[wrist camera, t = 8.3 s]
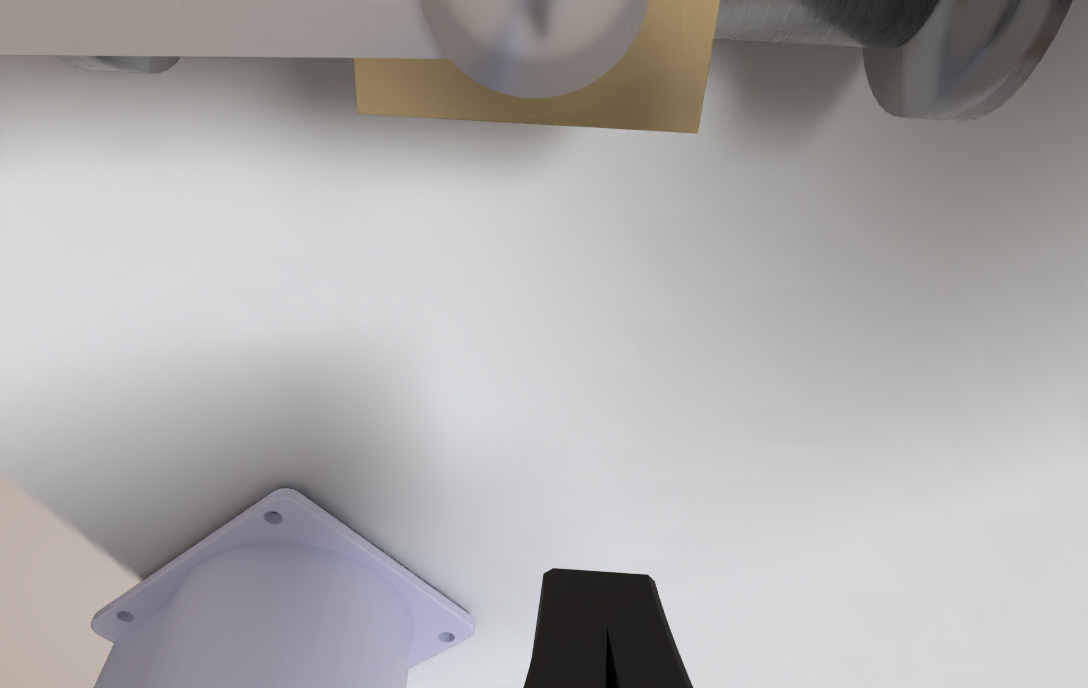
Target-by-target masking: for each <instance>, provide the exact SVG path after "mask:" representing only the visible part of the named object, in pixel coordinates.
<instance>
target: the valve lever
mask: <svg viewBox="0 0 1088 688" xmlns="http://www.w3.org/2000/svg"><path fill="white" fill-rule="evenodd" d="M648 2H649V0H0V55H78V56H188V57H298V58H407V59H449V60H450V61H451V62H452V63H453V64H454V65H455V66H456V67H457V68H458V69H460V70H461V71H462V72H463V73H464V74H465V75H467V76H468V77H470V78H471V79H473V80H474V81H476V82H477V83H479V84H481V85H483V86H485V87H487V88H489V89H491V90H494V91H497V92H500V93H503V94H506V95H511V96H516V97H522V98H549V97H554V96H560V95H564V94H567V93H570V92H573V91H576V90H578V89H581V88H583V87H585V86H587V85H589V84H591V83H592V82H594V81H595V80H597V79H599V78H600V77H602V76H603V75H604V74H605V73H606V72H608V71H609V70H610V69H611V68H612V67H613V66H614V65H615V64H616V63H617V62H618V61H619V60H620V59H621V58H622V57H623V56H624V54H625V53H626V51H627V50H628V49H629V47H630V46H631V45H632V43H633V41H634V39H635V37H636V36H637V34H638V32H639V30H640V27H641V25H642V22H643V20H644V17H645V13H646V10H647V6H648Z"/></svg>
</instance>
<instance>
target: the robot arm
mask: <svg viewBox="0 0 1088 688" xmlns="http://www.w3.org/2000/svg"><path fill="white" fill-rule="evenodd" d="M271 511H273V512H277V513H279V514H275V513H273V512H271ZM91 628H92V629H93V630H94V632H96V633H97V634H98V635H100V636H102V637H104V638H105V639H107V640H109V641H111V642H113V643H114V645H113V647H112V649H111V651H110V654H109V656H108V658H107V660H106V662H105V665H104V667H103V669H102V671H101V673H100V675H99V678H98V680H97V682H96V684H95V686H94V688H406V682H407V676H408V669H409V668H411V667H413V666H415V665H417V664H419V663H421V662H423V661H425V660H427V659H429V658H430V657H432V656H434V655H436V654H438V653H440V652H442V651H444V650H446V649H448V648H450V647H452V646H454V645H455V644H457V643H459V642H461V641H463V640H465V639H467V638H469V637H470V636H472V635H473V633H474V629H475V621H474V618H473V617H472V616H471V615H470V614H468V613H467V612H465V611H464V610H463V609H461V608H460V607H458V606H457V605H456V604H454V603H453V602H451V601H450V600H449V599H447V598H446V597H445V596H443V595H442V594H440V593H439V592H438V591H436V590H435V589H433V588H432V587H431V586H429V585H428V584H426V583H425V582H424V581H422V580H421V579H419V578H418V577H417V576H415V575H414V574H412V573H411V572H410V571H408V570H407V569H405V568H404V567H403V566H401V565H400V564H398V563H397V562H396V561H394V560H393V559H392V558H390V557H389V556H387V555H386V554H385V553H383V552H382V551H380V550H379V549H378V548H376V547H375V546H373V545H372V544H371V543H369V542H368V541H366V540H365V539H364V538H362V537H361V536H359V535H358V534H357V533H355V532H354V531H352V530H351V529H350V528H348V527H347V526H346V525H344V524H343V523H341V522H340V521H339V520H337V519H336V518H334V517H333V516H332V515H330V514H329V513H327V512H326V511H325V510H323V509H322V508H320V507H319V506H318V505H316V504H315V503H313V502H312V501H311V500H309V499H308V498H306V497H305V496H304V495H302V494H301V493H299V492H298V491H296V490H294V489H289V488H281V489H278V490H275V491H273V492H272V493H270V494H269V495H267V496H266V497H265V498H263V499H262V500H260V501H259V502H257V503H256V504H254V505H253V506H251V507H250V508H248V509H247V510H246V511H244V512H243V513H241V514H240V515H238V516H237V517H235V518H234V519H232V520H231V521H229V522H228V523H227V524H225V525H224V526H222V527H221V528H219V529H218V530H216V531H215V532H213V533H212V534H210V535H209V536H208V537H206V538H205V539H203V540H202V541H200V542H199V543H197V544H196V545H194V546H193V547H191V548H190V549H189V550H187V551H186V552H184V553H183V554H181V555H180V556H178V557H177V558H175V559H174V560H172V561H171V562H170V563H168V564H167V565H165V566H164V567H162V568H161V569H159V570H158V571H156V572H155V573H153V574H152V575H151V576H149V577H148V578H146V579H145V580H143V581H142V582H140V583H139V584H137V585H136V586H134V587H133V588H132V589H130V590H129V591H127V592H126V593H125V594H123V595H122V596H120V597H118V598H117V599H116V600H114V601H113V602H111V603H110V604H108V605H107V606H105V607H104V608H102V609H101V610H100V611H98V612H97V613H96V614H95V616H94V618H93V620H92V622H91ZM524 688H693V686H692V684H691V681H690V679H689V677H688V674H687V672H686V669H685V667H684V664H683V662H682V659H681V657H680V654H679V652H678V649H677V646H676V644H675V641H674V638H673V636H672V633H671V630H670V628H669V625H668V622H667V619H666V616H665V613H664V610H663V607H662V604H661V601H660V598H659V595H658V591H657V588H656V584H655V581H654V580H653V579H652V578H651V577H650V576H649V575H644V574H629V573H615V572H600V571H585V570H571V569H556V568H553V569H551V570H549V571H547V572H546V573H544V574H543V582H542V589H541V596H540V603H539V610H538V617H537V625H536V632H535V639H534V646H533V653H532V659H531V663H530V667H529V671H528V674H527V678H526V681H525V685H524Z"/></svg>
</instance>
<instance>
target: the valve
mask: <svg viewBox="0 0 1088 688" xmlns="http://www.w3.org/2000/svg"><path fill="white" fill-rule="evenodd" d="M1072 1H1073V0H649V2H648V6H647V10H646V13H645V17H644V20H643V22H642V25H641V27H640V30H639V32H638V34H637V36H636V37H635V39H634V41H633V43H632V45H631V46H630V47H629V49H628V50H627V51H626V53H625V54H624V56H623V57H622V58H621V59H620V60H619V61H618V62H617V63H616V64H615V65H614V66H613V67H612V68H611V69H610V70H609V71H608V72H606V73H605V74H604V75H603V76H602V77H600V78H599V79H597V80H595V81H594V82H592V83H591V84H589V85H587V86H585V87H583V88H581V89H578V90H576V91H573V92H570V93H567V94H564V95H560V96H554V97H549V98H522V97H516V96H511V95H506V94H503V93H500V92H497V91H494V90H491V89H489V88H487V87H485V86H483V85H481V84H479V83H477V82H476V81H474V80H473V79H471V78H470V77H468V76H467V75H465V74H464V73H463V72H462V71H461V70H460V69H458V68H457V67H456V66H455V65H454V64H453V63H452V62H451V61H450V60H449V59H407V58H353V59H354V73H355V87H356V101H357V114H371V115H389V116H406V117H423V118H441V119H458V120H475V121H493V122H510V123H528V124H545V125H562V126H580V127H597V128H614V129H632V130H649V131H666V132H684V133H698V128H699V122H700V116H701V110H702V104H703V98H704V92H705V86H706V80H707V74H708V68H709V62H710V56H711V50H712V44H713V38H716V39H732V40H749V41H766V42H782V43H799V44H815V45H832V46H849V47H862V51H863V59H864V65H865V70H866V74H867V78H868V82H869V85H870V87H871V90H872V92H873V95H874V97H875V98H876V100H877V101H878V103H879V105H880V106H881V107H882V108H883V109H884V110H885V111H886V112H888V113H890V114H891V115H893V116H898V117H905V118H923V119H940V120H957V121H967V120H974V119H977V118H980V117H982V116H985V115H987V114H989V113H990V112H992V111H993V110H995V109H996V108H998V107H999V106H1001V105H1002V104H1003V103H1004V102H1005V101H1006V100H1007V99H1008V98H1010V97H1011V96H1012V95H1013V94H1014V93H1015V92H1016V91H1017V89H1018V88H1019V87H1020V86H1021V85H1022V84H1023V83H1024V82H1025V80H1026V79H1027V78H1028V77H1029V75H1030V74H1031V73H1032V71H1033V70H1034V68H1035V67H1036V66H1037V64H1038V63H1039V62H1040V60H1041V59H1042V57H1043V55H1044V54H1045V52H1046V50H1047V49H1048V47H1049V46H1050V44H1051V42H1052V41H1053V39H1054V37H1055V35H1056V33H1057V32H1058V30H1059V28H1060V26H1061V24H1062V22H1063V20H1064V18H1065V16H1066V14H1067V12H1068V10H1069V8H1070V5H1071V3H1072ZM56 56H57V57H58V58H60V59H61V60H62V61H64V62H66V63H68V64H70V65H72V66H74V67H77V68H81V69H85V70H100V71H117V72H134V73H161V72H163V71H166V70H168V69H169V68H170V67H172V66H173V65H174V64H176V62H177V61H178V60H179V59H180V57H181V56H78V55H56Z"/></svg>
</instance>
